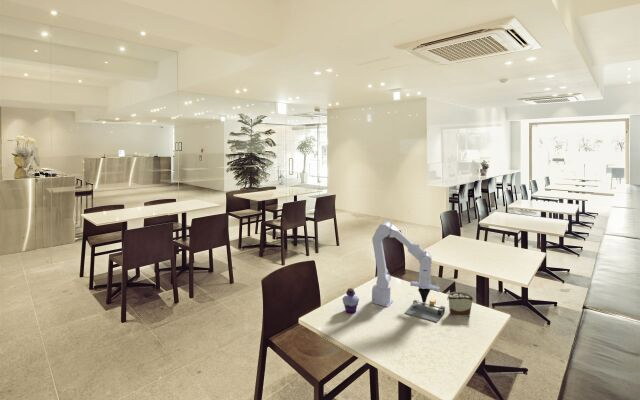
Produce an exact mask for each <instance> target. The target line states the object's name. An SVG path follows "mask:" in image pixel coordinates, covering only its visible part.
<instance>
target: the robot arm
mask: <svg viewBox="0 0 640 400" xmlns="http://www.w3.org/2000/svg"><path fill="white" fill-rule="evenodd" d="M387 237H388V238H395V239H396V240H397V241H399V242H400V243H401V244H403V246H405V247H406V248H407V252H408V253H410V254H411V256H413V257H414V258H415V259H416V260H418V262H419V270H418V271H419V273H418V274H419V276H418V281H413V280H412V281H410V284H409V285H410V287H416V288H418V290H417V291H418V293H419V294H420V295H419V296H420V297H421V301H422V302H427V298H428V295H429V293H430V292H431V291H433V292H437V293H439V292H440V290H441V288H440V286H438V285H435V284H432V263H433V262H432V261H433V259H432V255H431V254H430V253H429V252H428V251H427V250H424V249H423V248H422V247H421V245H420V244H419V243H416V242H412V241H411V240H410V239H408V237H407V236H406V235H404V234H403V233H402V232H401V231H400V230H399V229H398V227H396V226H395V225H394V224H392V222H390V221H387V220H385V221H383V222H382V223H381V224H379V226H378V227H377V228H376V229H375V231H374V233H373V236H372V238H371V239H372V247H373V253H374V258H375V263H376V264H375V265H376V270H377V272H376V284H373V287H372V290H371V301H370V302H371V303H372V304H375V305H380V306H383V307H387V308H388V307H389V306H390V305H391V304H392V303H393V302H394V300H393V299H391V285H390V282H391V280H392V277H391V274H390V272H389V270H388V268H387V264H386V263H387V262H386V257H385V251H384V244H383V240H384V239H385V238H387Z"/></svg>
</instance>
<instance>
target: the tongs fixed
mask: <svg viewBox="0 0 640 400" xmlns="http://www.w3.org/2000/svg"><path fill="white" fill-rule="evenodd" d="M415 300H416V301H418V302H419V303H422V304H426V305H429V303H430V302H427V301H426V302H422V300H420V299H415ZM429 306H431V305H429ZM433 307H436V308H440V309H443V314H445V313H446V306H445V305H444V306H443V305H440V304H439V305H438V304H435V306H433Z"/></svg>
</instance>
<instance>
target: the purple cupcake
mask: <svg viewBox="0 0 640 400" xmlns="http://www.w3.org/2000/svg"><path fill="white" fill-rule="evenodd" d="M345 294H346V295H344V296H343V297H342V299H341V300H342V303H343V306H344V310H345V313H346V314H349V315H353V314H356V313H357V307H358V305H359V301H360V298H359V297H358V296H357V295H356V292H355V289H354V288H351V287H349V288H347V290H346V293H345Z"/></svg>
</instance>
